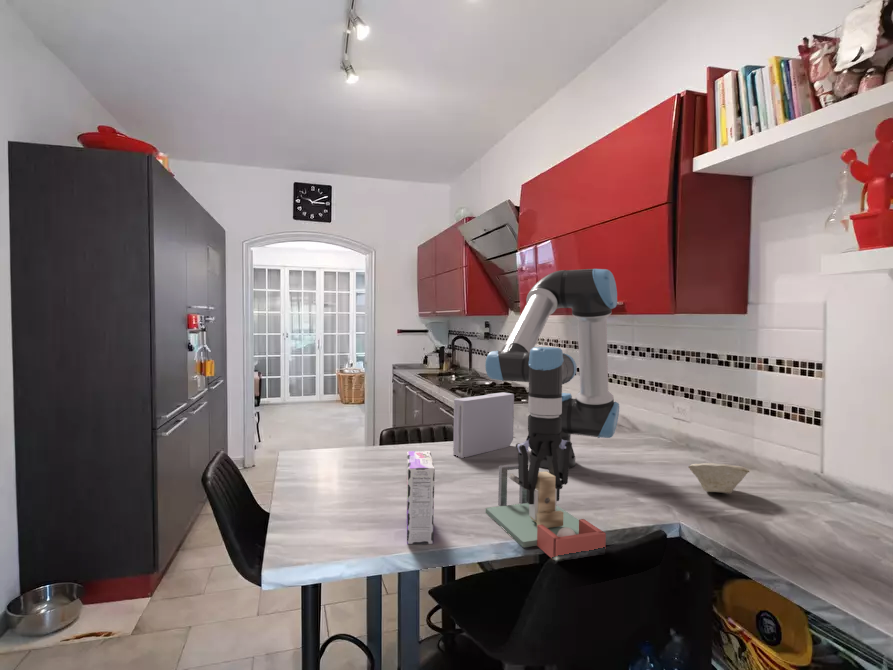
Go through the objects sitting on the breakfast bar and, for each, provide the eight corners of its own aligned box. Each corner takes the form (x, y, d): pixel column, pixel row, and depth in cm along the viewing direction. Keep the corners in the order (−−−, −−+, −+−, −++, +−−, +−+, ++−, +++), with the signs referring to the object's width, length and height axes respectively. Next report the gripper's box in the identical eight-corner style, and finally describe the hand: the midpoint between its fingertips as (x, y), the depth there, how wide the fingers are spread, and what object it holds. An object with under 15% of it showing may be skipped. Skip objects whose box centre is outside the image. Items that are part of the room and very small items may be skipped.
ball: (582, 540, 103) (575, 549, 105) (574, 522, 106) (567, 532, 108) (565, 543, 101) (558, 552, 104) (557, 524, 104) (551, 534, 107)
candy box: (406, 518, 118) (406, 450, 118) (430, 518, 119) (431, 450, 118) (406, 545, 105) (407, 467, 104) (434, 544, 105) (435, 467, 105)
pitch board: (549, 505, 129) (549, 500, 129) (596, 536, 110) (596, 531, 110) (485, 512, 123) (485, 507, 123) (523, 547, 104) (523, 542, 104)
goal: (583, 538, 109) (583, 518, 109) (605, 554, 102) (605, 533, 101) (537, 545, 105) (537, 525, 105) (556, 562, 98) (556, 540, 98)
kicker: (521, 495, 130) (522, 455, 130) (563, 525, 112) (564, 478, 111) (500, 497, 129) (501, 457, 128) (539, 528, 110) (540, 481, 109)
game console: (450, 455, 175) (451, 398, 175) (501, 443, 194) (502, 392, 193) (462, 458, 171) (463, 400, 171) (513, 445, 190) (514, 393, 189)
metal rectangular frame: (524, 502, 131) (525, 463, 130) (527, 504, 129) (528, 465, 129) (498, 505, 128) (499, 465, 128) (500, 507, 127) (501, 467, 126)
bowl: (741, 488, 144) (742, 454, 144) (754, 505, 131) (755, 467, 131) (684, 482, 149) (685, 449, 149) (691, 497, 136) (692, 461, 135)
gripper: (568, 410, 120) (565, 506, 121) (503, 413, 114) (501, 514, 115) (586, 416, 113) (584, 518, 113) (518, 419, 107) (516, 527, 108)
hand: (542, 516), depth 114 cm, fingers closed on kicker, 4 cm apart
